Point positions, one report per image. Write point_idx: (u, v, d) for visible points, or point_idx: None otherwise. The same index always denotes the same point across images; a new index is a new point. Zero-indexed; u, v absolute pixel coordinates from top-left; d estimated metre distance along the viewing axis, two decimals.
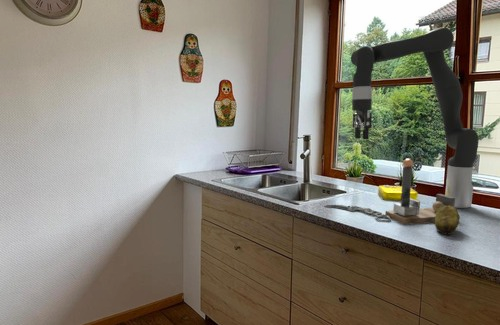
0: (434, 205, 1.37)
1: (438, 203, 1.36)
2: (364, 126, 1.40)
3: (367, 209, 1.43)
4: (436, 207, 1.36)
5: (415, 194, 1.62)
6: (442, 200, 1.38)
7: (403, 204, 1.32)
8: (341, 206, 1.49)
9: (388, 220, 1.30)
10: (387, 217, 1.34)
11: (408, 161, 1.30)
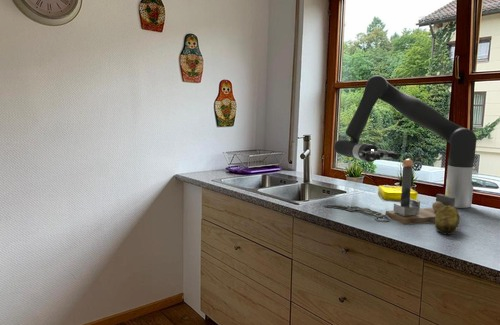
0: (434, 205, 1.37)
1: (438, 203, 1.36)
2: (366, 158, 1.45)
3: (366, 209, 1.43)
4: (436, 207, 1.36)
5: (415, 194, 1.62)
6: (442, 200, 1.38)
7: (403, 204, 1.32)
8: (340, 206, 1.49)
9: (387, 220, 1.30)
10: (386, 217, 1.33)
11: (408, 161, 1.30)
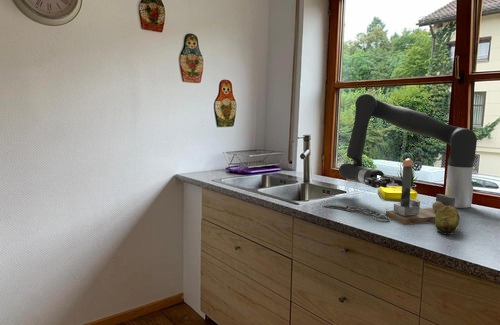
0: (434, 205, 1.37)
1: (438, 203, 1.36)
2: (372, 186, 1.41)
3: (365, 209, 1.43)
4: (436, 207, 1.36)
5: (415, 194, 1.62)
6: (442, 200, 1.38)
7: (403, 204, 1.32)
8: (339, 206, 1.49)
9: (387, 220, 1.30)
10: (386, 217, 1.33)
11: (408, 161, 1.30)
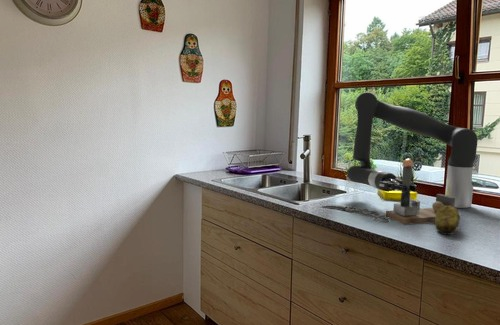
0: (434, 205, 1.37)
1: (438, 203, 1.36)
2: None
3: (365, 210, 1.42)
4: (436, 207, 1.36)
5: (415, 194, 1.62)
6: (442, 200, 1.38)
7: (403, 204, 1.32)
8: (338, 207, 1.48)
9: (386, 221, 1.30)
10: (385, 218, 1.33)
11: (408, 161, 1.30)
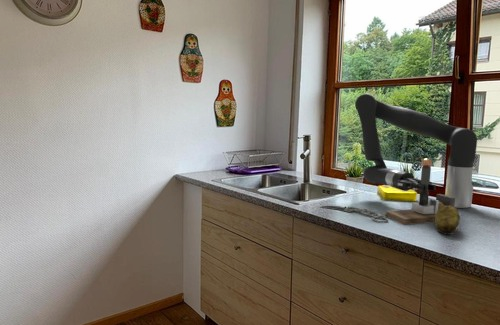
0: None
1: (438, 203, 1.36)
2: (411, 189, 1.36)
3: (363, 210, 1.42)
4: None
5: (414, 194, 1.62)
6: (442, 200, 1.38)
7: (422, 203, 1.34)
8: (337, 207, 1.48)
9: (385, 221, 1.29)
10: (384, 218, 1.33)
11: (427, 161, 1.32)
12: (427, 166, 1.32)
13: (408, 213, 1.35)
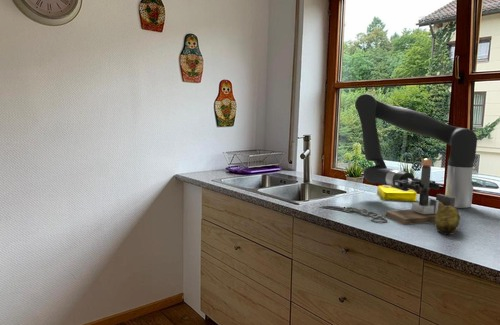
0: None
1: (438, 203, 1.36)
2: (404, 189, 1.36)
3: (363, 210, 1.42)
4: None
5: (414, 194, 1.62)
6: (442, 200, 1.38)
7: (422, 203, 1.34)
8: (336, 207, 1.48)
9: (384, 221, 1.29)
10: (383, 218, 1.32)
11: (427, 161, 1.32)
12: (427, 166, 1.32)
13: (408, 213, 1.35)
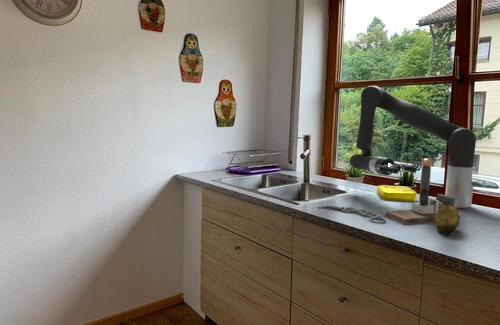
0: None
1: (438, 203, 1.36)
2: (384, 172, 1.48)
3: (361, 210, 1.41)
4: None
5: (414, 194, 1.62)
6: (442, 200, 1.38)
7: (422, 203, 1.34)
8: (335, 207, 1.47)
9: (383, 221, 1.28)
10: (382, 218, 1.32)
11: (427, 161, 1.32)
12: (427, 166, 1.32)
13: (408, 213, 1.35)
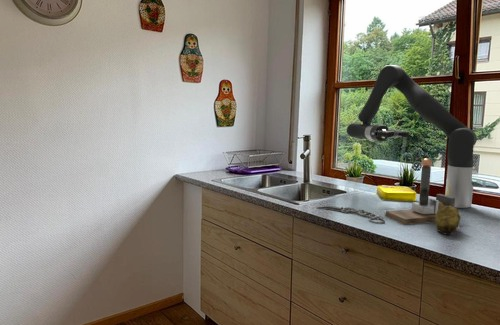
0: None
1: (438, 203, 1.36)
2: (378, 137, 1.57)
3: (360, 210, 1.41)
4: None
5: (414, 194, 1.62)
6: (442, 200, 1.38)
7: (422, 203, 1.34)
8: (334, 207, 1.47)
9: (382, 222, 1.28)
10: (381, 219, 1.31)
11: (427, 161, 1.32)
12: (427, 166, 1.32)
13: (408, 213, 1.35)
